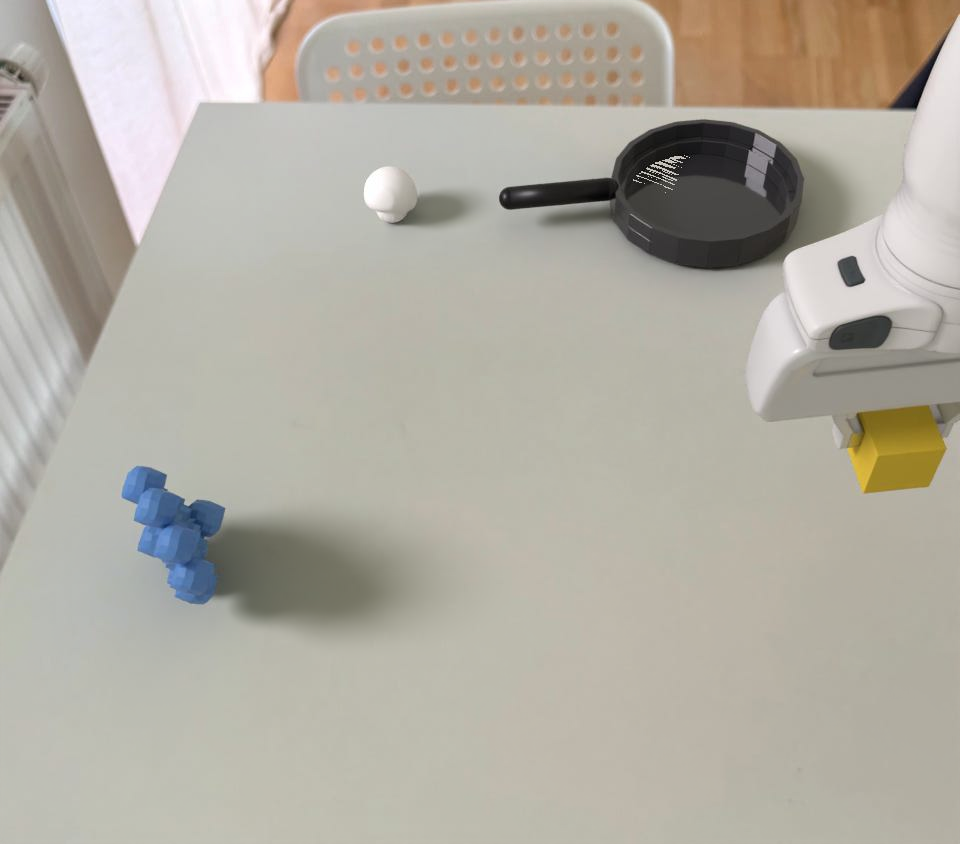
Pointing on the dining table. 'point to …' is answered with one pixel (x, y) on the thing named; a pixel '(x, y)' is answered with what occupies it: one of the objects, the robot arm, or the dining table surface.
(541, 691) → the dining table surface
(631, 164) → the pan
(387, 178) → the mushroom
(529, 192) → the pan handle
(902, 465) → the yellow block
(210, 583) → the grapes
